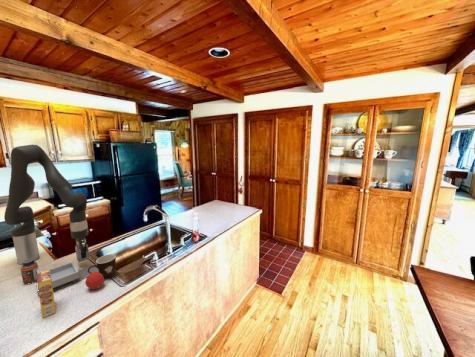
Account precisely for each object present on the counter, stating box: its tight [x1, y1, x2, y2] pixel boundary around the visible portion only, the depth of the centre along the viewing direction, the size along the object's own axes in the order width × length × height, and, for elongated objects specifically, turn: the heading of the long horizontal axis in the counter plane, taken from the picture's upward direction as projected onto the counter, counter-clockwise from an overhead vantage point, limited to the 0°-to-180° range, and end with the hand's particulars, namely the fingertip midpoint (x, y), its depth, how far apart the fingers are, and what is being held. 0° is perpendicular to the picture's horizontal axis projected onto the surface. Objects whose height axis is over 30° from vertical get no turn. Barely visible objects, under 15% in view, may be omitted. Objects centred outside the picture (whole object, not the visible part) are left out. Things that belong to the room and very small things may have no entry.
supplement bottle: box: [20, 259, 39, 285], centre depth 99 cm, size 6×6×11 cm
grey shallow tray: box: [37, 261, 80, 288], centre depth 98 cm, size 14×14×8 cm
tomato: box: [84, 272, 105, 290], centre depth 95 cm, size 8×8×8 cm
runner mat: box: [36, 263, 99, 298], centre depth 102 cm, size 11×26×1 cm, turn 138°
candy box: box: [36, 269, 56, 319], centre depth 81 cm, size 9×4×15 cm, turn 47°
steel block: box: [74, 244, 90, 263], centre depth 112 cm, size 5×5×8 cm
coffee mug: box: [88, 253, 117, 281], centre depth 102 cm, size 12×9×10 cm
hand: (82, 255), depth 112 cm, fingers closed on steel block, 5 cm apart
